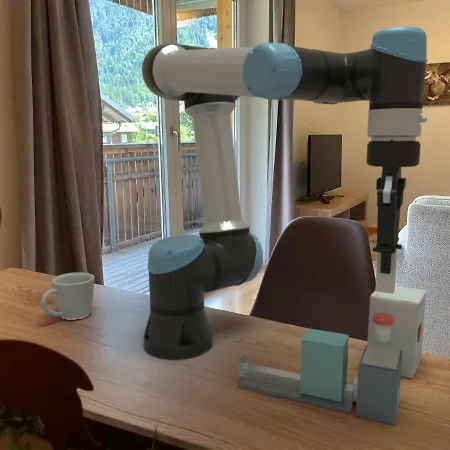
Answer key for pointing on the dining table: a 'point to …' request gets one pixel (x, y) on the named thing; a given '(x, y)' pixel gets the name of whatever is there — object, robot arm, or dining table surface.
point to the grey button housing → (379, 384)
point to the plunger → (383, 326)
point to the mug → (71, 295)
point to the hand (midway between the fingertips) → (385, 290)
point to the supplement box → (401, 324)
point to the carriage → (324, 364)
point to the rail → (289, 386)
